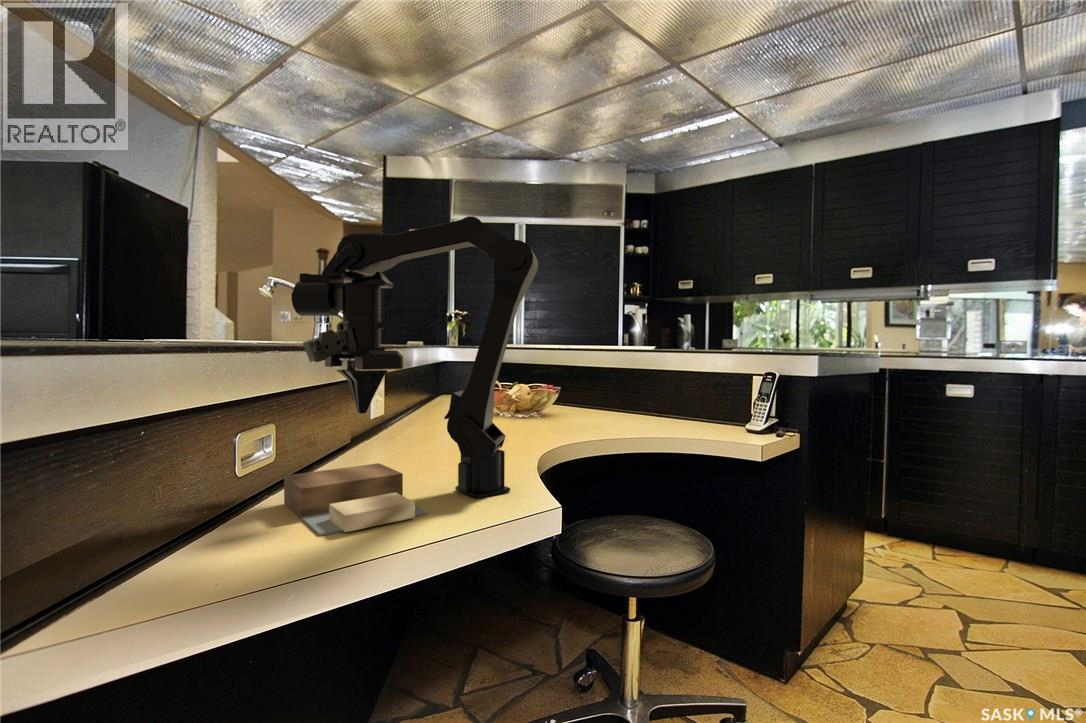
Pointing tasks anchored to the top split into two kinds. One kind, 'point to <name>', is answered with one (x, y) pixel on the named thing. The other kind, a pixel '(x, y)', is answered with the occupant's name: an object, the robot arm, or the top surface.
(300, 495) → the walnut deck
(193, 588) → the top surface
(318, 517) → the mat
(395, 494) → the pale maple block
